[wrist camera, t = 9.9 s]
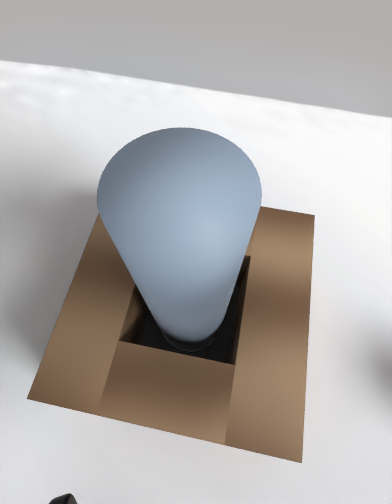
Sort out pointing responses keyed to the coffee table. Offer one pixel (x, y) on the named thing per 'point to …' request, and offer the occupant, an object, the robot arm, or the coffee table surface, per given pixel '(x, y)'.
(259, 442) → the socket
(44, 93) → the coffee table surface
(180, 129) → the dowel
